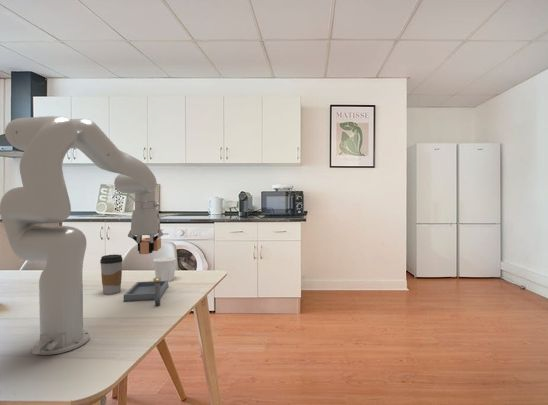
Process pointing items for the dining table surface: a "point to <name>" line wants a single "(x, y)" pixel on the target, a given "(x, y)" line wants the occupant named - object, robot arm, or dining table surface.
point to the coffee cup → (111, 273)
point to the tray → (144, 291)
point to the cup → (165, 268)
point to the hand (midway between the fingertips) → (146, 252)
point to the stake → (157, 291)
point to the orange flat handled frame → (145, 245)
